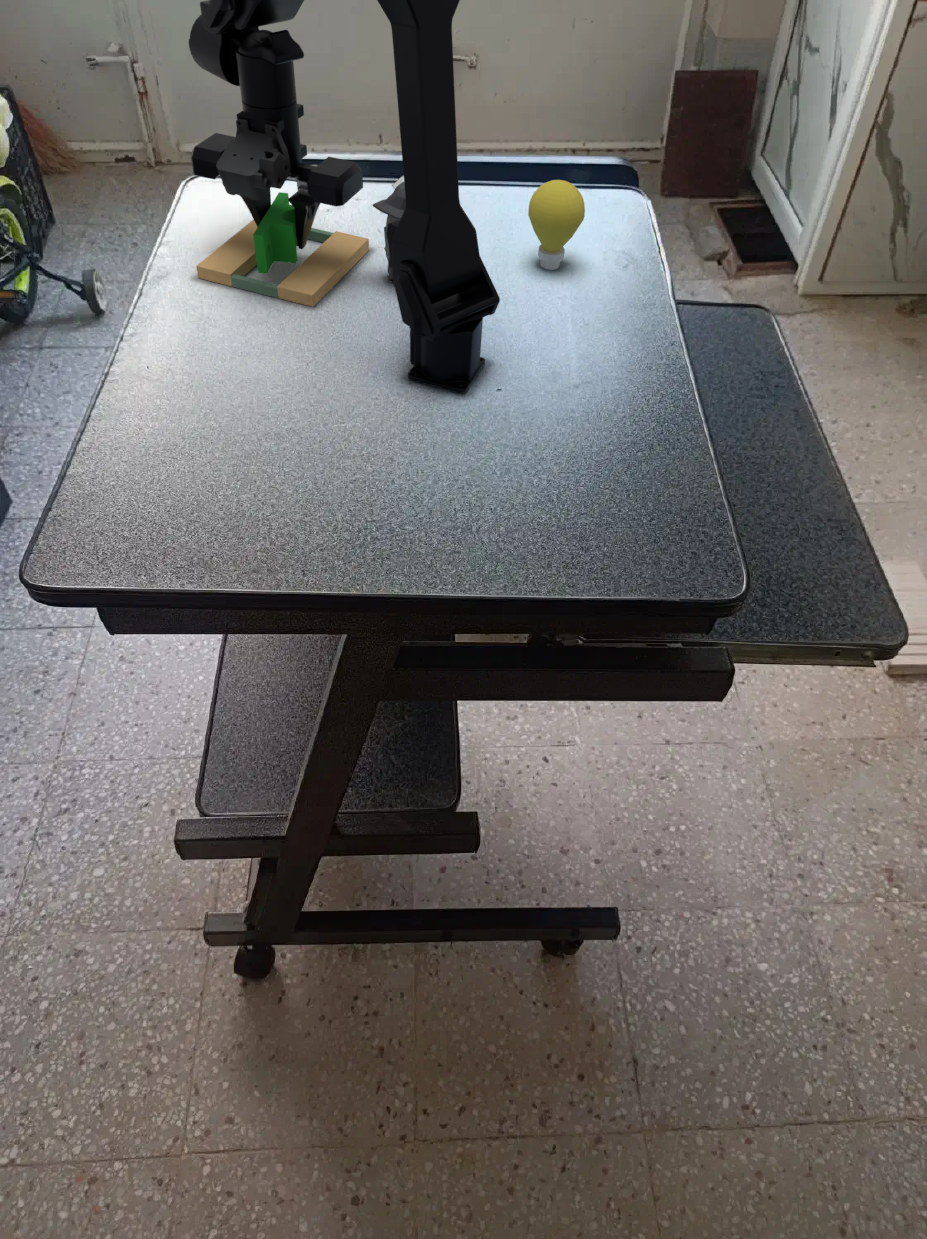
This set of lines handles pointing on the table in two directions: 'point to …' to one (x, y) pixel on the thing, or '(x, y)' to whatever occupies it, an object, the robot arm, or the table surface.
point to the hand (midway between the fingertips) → (284, 243)
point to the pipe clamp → (276, 235)
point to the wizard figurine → (392, 214)
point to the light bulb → (555, 219)
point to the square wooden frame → (302, 282)
